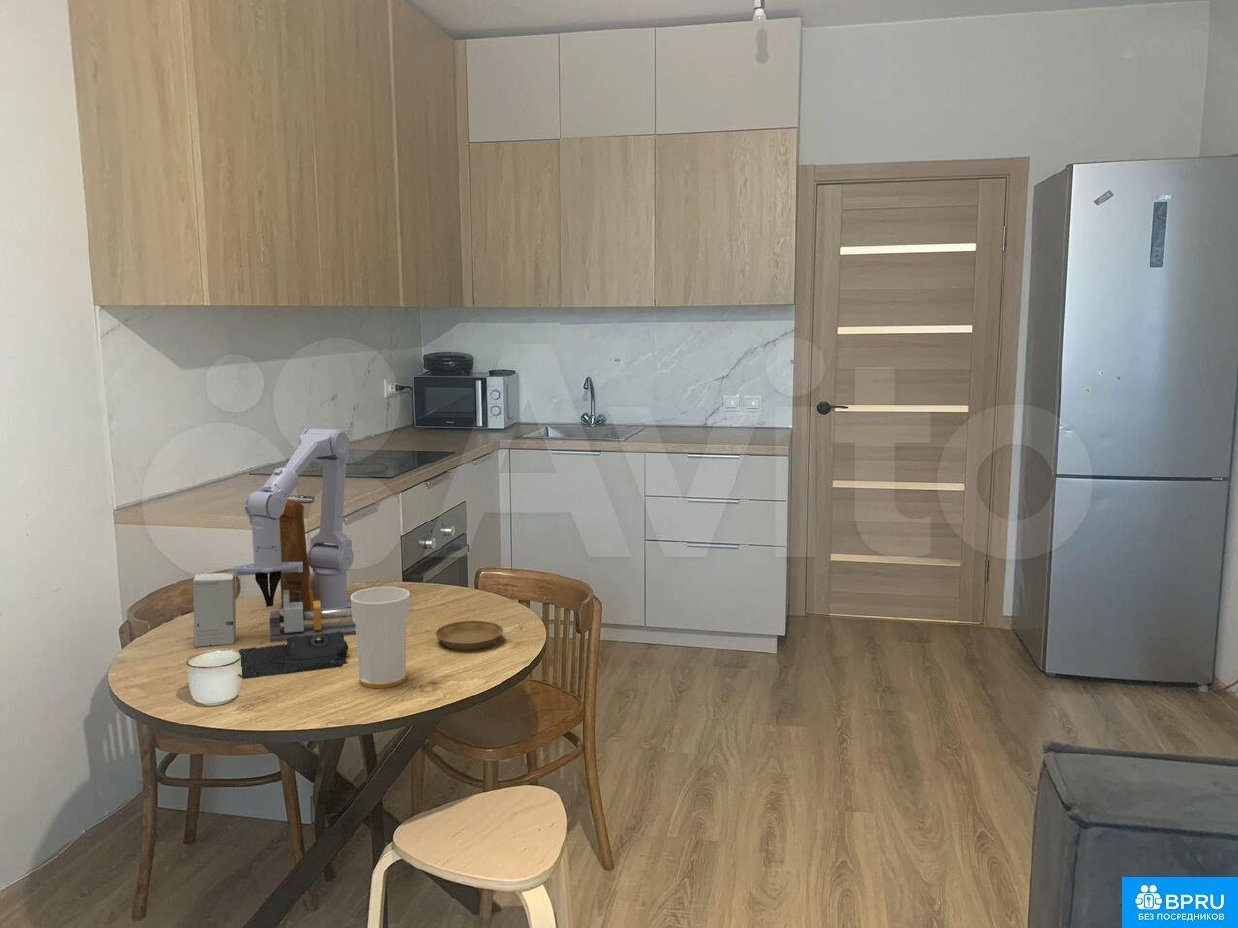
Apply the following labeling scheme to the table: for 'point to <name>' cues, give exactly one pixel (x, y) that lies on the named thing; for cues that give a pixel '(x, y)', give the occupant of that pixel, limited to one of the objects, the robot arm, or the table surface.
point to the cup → (381, 635)
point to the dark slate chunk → (295, 656)
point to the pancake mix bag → (295, 555)
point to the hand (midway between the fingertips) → (269, 605)
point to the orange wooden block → (317, 615)
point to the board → (328, 627)
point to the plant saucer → (469, 634)
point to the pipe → (305, 617)
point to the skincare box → (214, 609)
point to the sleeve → (292, 614)
